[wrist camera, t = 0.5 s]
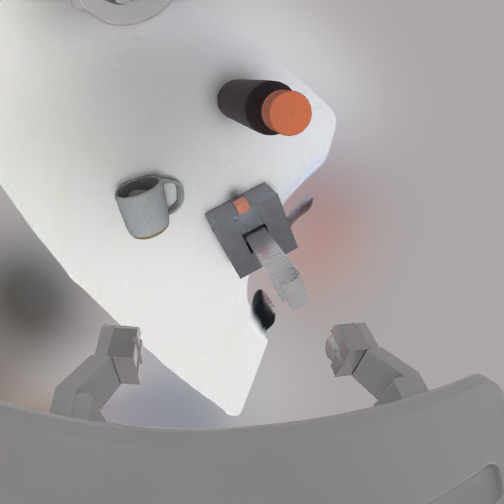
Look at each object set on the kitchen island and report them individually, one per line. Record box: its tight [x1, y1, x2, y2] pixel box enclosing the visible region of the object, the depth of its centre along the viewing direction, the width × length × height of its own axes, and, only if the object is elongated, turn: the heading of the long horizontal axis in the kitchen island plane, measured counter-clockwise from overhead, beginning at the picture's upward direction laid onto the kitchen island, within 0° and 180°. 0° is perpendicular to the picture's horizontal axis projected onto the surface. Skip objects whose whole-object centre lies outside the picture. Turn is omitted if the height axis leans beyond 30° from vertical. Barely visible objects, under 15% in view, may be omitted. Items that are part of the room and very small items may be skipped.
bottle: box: [218, 80, 312, 136], centre depth 36 cm, size 7×7×20 cm
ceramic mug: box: [115, 176, 184, 239], centre depth 46 cm, size 11×8×8 cm
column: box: [243, 224, 308, 311], centre depth 49 cm, size 5×4×21 cm
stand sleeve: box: [205, 182, 298, 279], centre depth 54 cm, size 14×12×6 cm
